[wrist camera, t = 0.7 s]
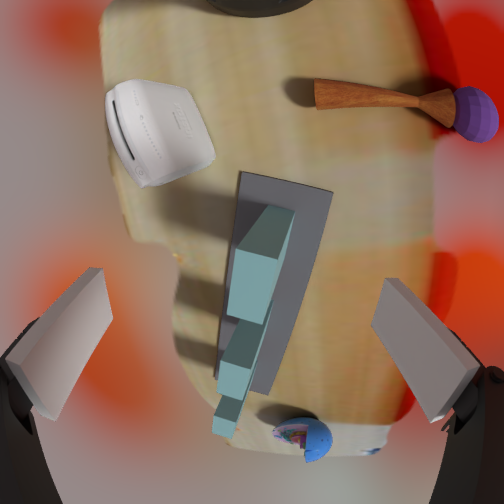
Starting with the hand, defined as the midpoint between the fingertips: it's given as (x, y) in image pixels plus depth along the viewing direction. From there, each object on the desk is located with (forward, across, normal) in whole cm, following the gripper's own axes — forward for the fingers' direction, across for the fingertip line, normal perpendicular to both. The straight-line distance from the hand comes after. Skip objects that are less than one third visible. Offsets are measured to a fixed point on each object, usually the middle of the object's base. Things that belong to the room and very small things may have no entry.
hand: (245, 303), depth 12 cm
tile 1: (+19, +4, -3) cm, 20 cm away
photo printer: (+22, -6, +9) cm, 24 cm away
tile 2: (+20, +3, -14) cm, 25 cm away
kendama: (+15, +16, +14) cm, 26 cm away
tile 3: (+22, +2, -26) cm, 34 cm away
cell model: (+20, +14, -41) cm, 48 cm away
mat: (+21, +3, -14) cm, 26 cm away
